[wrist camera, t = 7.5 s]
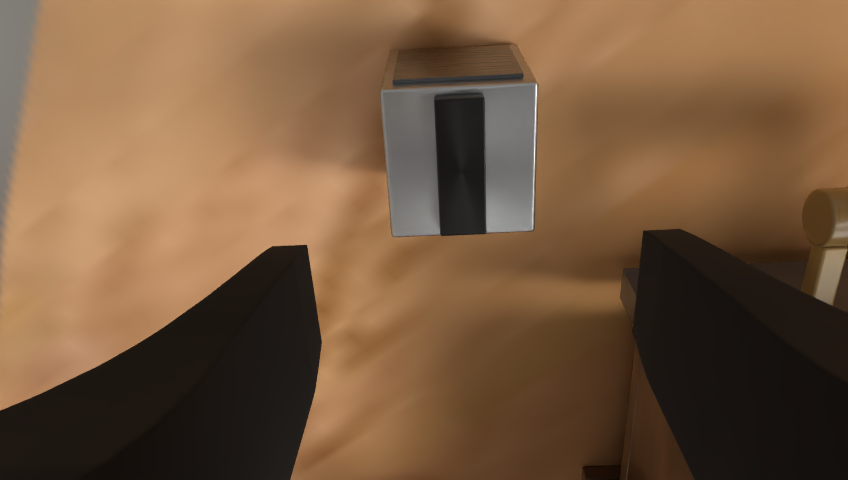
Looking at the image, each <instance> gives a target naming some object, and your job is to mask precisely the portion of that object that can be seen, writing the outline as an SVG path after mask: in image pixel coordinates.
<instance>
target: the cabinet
mask: <svg viewBox="0 0 848 480" xmlns="http://www.w3.org/2000/svg"><path fill="white" fill-rule="evenodd" d="M620 473H621V466H599V467H583V471H582V480H620Z"/></svg>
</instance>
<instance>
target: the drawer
mask: <svg viewBox="0 0 848 480" xmlns="http://www.w3.org/2000/svg"><path fill="white" fill-rule="evenodd" d="M802 219H803V227H804V231H805V234H806V236H807V238H808V239H809V241H810V242H811V243H812V246H811V250H810V254H809V258H808V261H791V262H767V263H748V264H750V265H751V266H753V267H755V268H757V269H759V270H761V271H763V272H765V273H766V274H768V275H770V276H772V277H774V278H776V279H778V280H780V281H782V282H784V283H786V284H788V285H790V286H792V287H794V288H796V289H798V290H800V291H802V292H804V293H806V294H808V295H811V296H813V297H815V298H817V299H819V300H821V301H823V302H826V303H828V304H830V305H832V306H834V307H836V308H839V309H841V310H843V311H846V312H848V259H845V258H846V255H847V251H848V249H847V247H846V246H848V188H828V189H817V190H814V191H812V192H811V193H810V194H809V195H808V197H807V198H806V200H805V203H804V207H803V214H802ZM638 275H639V268H624V269H623V273H622V283H621V294H620V299H621V301H622V303H623V305H624V307H625V309H626V311H627V314H628V316H629V318H630V320H631V322H632V324H633V320H634V311H635V302H636V293H637V284H638ZM620 480H695V479H694V477H693V475H692V473H691V471H690V469H689V467H688V465H687V463H686V461H685V458H684V456H683V454H682V452H681V450H680V448H679V446H678V444H677V442H676V440H675V438H674V435H673V433H672V431H671V429H670V427H669V425H668V423H667V421H666V419H665V417H664V415H663V412H662V410H661V408H660V406H659V404H658V402H657V400H656V397H655V395H654V393H653V391H652V389H651V387H650V384H649V382H648V380H647V377H646V374H645V371H644V368H643V365H642V362H641V358H640V355H639V352H638V348H637V345H636V342H635V350H634V359H633V368H632V377H631V385H630V394H629V403H628V412H627V420H626V429H625V438H624V447H623V455H622V464H621V473H620Z"/></svg>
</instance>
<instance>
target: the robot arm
mask: <svg viewBox="0 0 848 480" xmlns="http://www.w3.org/2000/svg"><path fill="white" fill-rule="evenodd" d="M632 331H633V334H634V338H635V341H636V345H637V348H638V352H639V355H640V358H641V362H642V365H643V368H644V371H645V374H646V377H647V380H648V382H649V384H650V387H651V389H652V391H653V393H654V395H655V397H656V400H657V402H658V404H659V406H660V408H661V410H662V412H663V415H664V417H665V419H666V421H667V423H668V425H669V427H670V429H671V431H672V433H673V435H674V438H675V440H676V442H677V444H678V446H679V448H680V450H681V452H682V454H683V456H684V458H685V461H686V463H687V465H688V467H689V469H690V471H691V473H692V475H693V477H694V479H695V480H848V312H846V311H843V310H841V309H839V308H836V307H834V306H832V305H830V304H828V303H826V302H823V301H821V300H819V299H817V298H815V297H813V296H811V295H808V294H806V293H804V292H802V291H800V290H798V289H796V288H794V287H792V286H790V285H788V284H786V283H784V282H782V281H780V280H778V279H776V278H774V277H772V276H770V275H768V274H766V273H765V272H763V271H761V270H759V269H757V268H755V267H753V266H751V265H750V264H748V263H746V262H744V261H742V260H740V259H738V258H737V257H735V256H733V255H731V254H729V253H727V252H726V251H724V250H722V249H720V248H718V247H716V246H715V245H713V244H711V243H709V242H707V241H705V240H703V239H701V238H699V237H697V236H695V235H693V234H691V233H689V232H686V231H684V230H681V229H670V230H647V231H643V239H642V248H641V257H640V266H639V275H638V284H637V293H636V302H635V311H634V320H633V330H632ZM321 343H322V341H321V335H320V328H319V321H318V315H317V308H316V301H315V295H314V288H313V281H312V275H311V268H310V262H309V255H308V248H307V245H295V246H272V247H271V248H269V249H267V250H266V251H264V252H263V253H262V254H260V255H259V256H258V257H256V258H255V259H254V260H253V261H251V262H250V263H249V264H248V265H246V266H245V267H244V268H243V269H241V270H240V271H239V272H238V273H236V274H235V275H234V276H233V277H231V278H230V279H229V280H228V281H226V282H225V283H224V284H222V285H221V286H220V287H219V288H217V289H216V290H215V291H214V292H212V293H211V294H210V295H208V296H207V297H206V298H204V299H203V300H202V301H200V302H199V303H198V304H196V305H195V306H193V307H192V308H190V309H189V310H188V311H186V312H185V313H183V314H182V315H181V316H179V317H178V318H176V319H175V320H174V321H172V322H171V323H169V324H168V325H166V326H165V327H164V328H162V329H161V330H159V331H158V332H156V333H154V334H153V335H151V336H150V337H148V338H147V339H145V340H143V341H142V342H140V343H138V344H137V345H135V346H133V347H132V348H130V349H128V350H126V351H125V352H123V353H121V354H119V355H118V356H116V357H114V358H112V359H111V360H109V361H107V362H105V363H103V364H101V365H99V366H98V367H96V368H93V369H91V370H89V371H87V372H85V373H83V374H81V375H79V376H77V377H75V378H73V379H71V380H69V381H66V382H64V383H62V384H60V385H58V386H56V387H54V388H52V389H50V390H48V391H46V392H44V393H41V394H39V395H37V396H35V397H32V398H30V399H28V400H25V401H23V402H20V403H18V404H15V405H13V406H11V407H8V408H6V409H3V410H1V411H0V480H290V478H291V475H292V471H293V468H294V464H295V461H296V457H297V454H298V450H299V447H300V443H301V440H302V436H303V433H304V429H305V426H306V422H307V419H308V415H309V411H310V408H311V404H312V400H313V397H314V393H315V388H316V381H317V374H318V367H319V359H320V351H321Z"/></svg>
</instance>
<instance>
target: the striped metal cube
mask: <svg viewBox="0 0 848 480" xmlns="http://www.w3.org/2000/svg"><path fill="white" fill-rule="evenodd" d="M380 103H381V115H382V127H383V138H384V150H385V162H386V174H387V186H388V198H389V210H390V222H391V234H392V236H393V237H410V236H434V235H441V236H451V235H474V234H486V233H504V232H527V231H533V230H534V228H535V192H536V154H537V117H538V83H537V81H536V79H535V77H534V75H533V74H532V72H531V70H530V68H529V66H528V65H527V63H526V61H525V59H524V57H523V56H522V54H521V52H520V50H519V48H518V47H517V45H515V44H510V45H490V46H471V47H452V48H432V49H413V50H393V51H390V53H389V57H388V61H387V65H386V69H385V73H384V77H383V81H382V85H381V89H380Z"/></svg>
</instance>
